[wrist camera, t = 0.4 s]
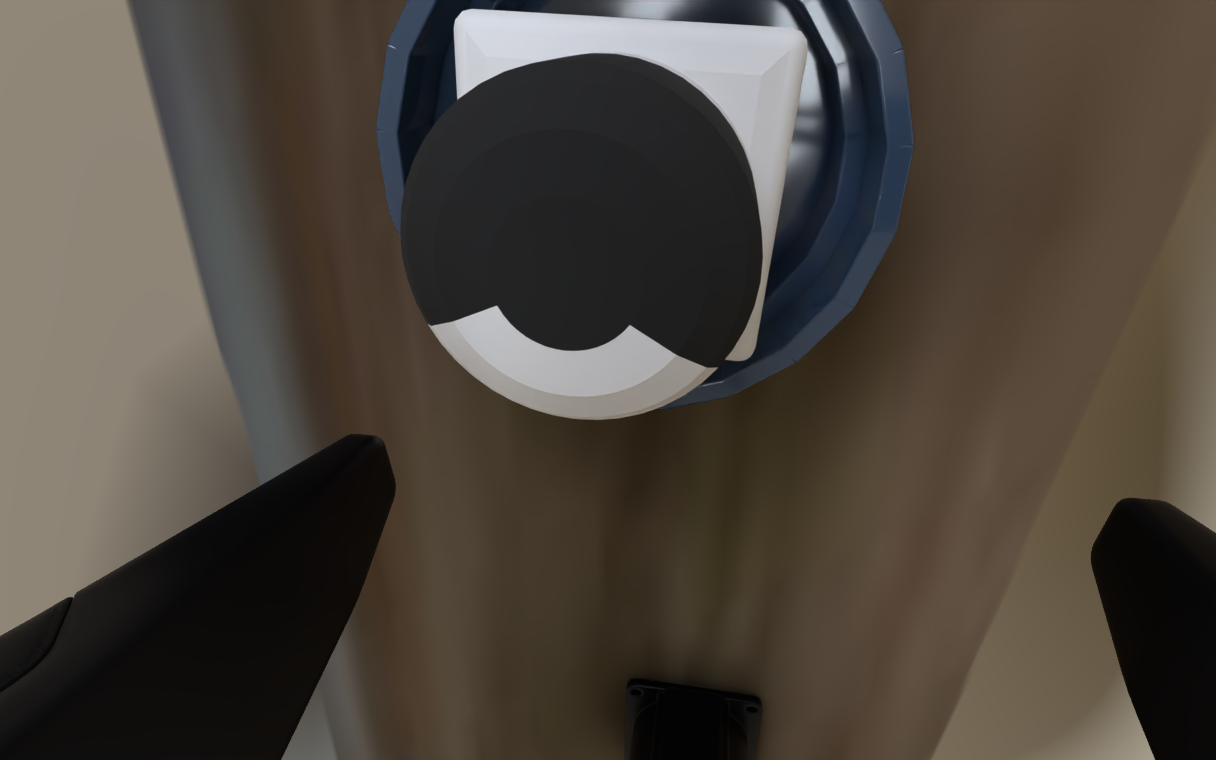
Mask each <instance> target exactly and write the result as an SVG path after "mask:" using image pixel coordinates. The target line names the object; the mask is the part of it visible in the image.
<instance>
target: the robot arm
mask: <svg viewBox="0 0 1216 760" xmlns="http://www.w3.org/2000/svg"><path fill="white" fill-rule="evenodd" d="M395 490H396V484H395V478H394V474H393V471H392V467H391V464H390V461H389V457H388V454H387V450H386V447H385V444H384V442H383V440H382V439H381V438H380V437H378V436H374V435H362V434H350V435H348V436H346V437H344V438H342V439H340V440H338V441H337V442H335V443H333V444H332V445H330V446H328V447H326V448H325V449H323V450H321V451H320V452H318V453H316V454H314V455H313V456H311V457H309V458H307V459H306V460H304V461H302V462H301V463H299V464H297V465H295V466H294V467H292V468H290V469H289V470H287V471H285V472H283V473H282V474H280V475H278V476H276V477H275V478H273V479H271V480H270V481H268V482H266V483H264V484H263V485H261V486H259V487H258V488H256V489H254V490H252V491H251V492H249V493H247V494H245V495H244V496H242V497H240V498H239V499H237V500H235V501H234V502H232V503H230V504H228V505H226V506H225V507H223V508H221V509H220V510H218V511H216V512H214V513H213V514H211V515H209V516H207V517H206V518H204V519H202V520H201V521H199V522H197V523H195V524H194V525H192V526H190V527H189V528H187V529H185V530H183V531H182V532H180V533H178V534H176V535H175V536H173V537H171V538H170V539H168V540H166V541H165V542H163V543H161V544H159V545H158V546H156V547H154V548H152V549H151V550H149V551H147V552H146V553H144V554H142V555H140V556H139V557H137V558H135V559H133V560H132V561H130V562H128V563H126V564H125V565H123V566H121V567H120V568H118V569H116V570H115V571H113V572H111V573H109V574H108V575H106V576H104V577H102V578H101V579H99V580H97V581H95V582H94V583H92V584H90V585H88V586H87V587H85V588H84V589H82V590H80V591H78V592H77V593H76V594H75V596H74V598H73V597H68V598H66V599H64V600H62V601H61V602H59V603H57V604H55V605H54V606H52V607H50V608H49V609H47V610H45V611H44V612H42V613H40V614H38V615H37V616H35V617H33V618H32V619H30V620H28V621H26V622H25V623H23V624H21V625H19V626H17V627H15V628H14V629H12V630H10V631H8V632H7V633H5V634H3V635H1V636H0V760H281V759H282V757H283V755H284V753H285V750H286V748H287V746H288V744H289V742H290V740H291V738H292V736H293V734H294V732H295V730H296V728H297V726H298V723H299V721H300V719H301V717H302V715H303V713H304V711H305V709H306V706H307V705H308V703H309V700H310V699H311V696H312V694H313V692H314V690H315V688H316V686H317V684H318V682H319V680H320V678H321V676H322V674H323V671H324V669H325V667H326V665H327V663H328V661H329V659H330V657H331V655H332V653H333V651H334V649H335V646H336V644H337V642H338V640H339V638H340V636H341V634H342V632H343V630H344V628H345V626H346V624H347V622H348V619H349V617H350V615H351V613H352V611H353V609H354V606H355V604H356V602H357V600H358V597H359V595H360V592H361V590H362V587H363V585H364V582H365V579H366V576H367V574H368V571H369V568H370V565H371V562H372V559H373V557H374V554H375V551H376V548H377V545H378V542H379V540H380V537H381V534H382V531H383V528H384V525H385V523H386V520H387V517H388V514H389V511H390V508H391V506H392V503H393V500H394V496H395ZM1091 564H1092V569H1093V573H1094V576H1095V580H1096V583H1097V587H1098V591H1099V594H1100V597H1101V601H1102V604H1103V608H1104V611H1105V615H1106V618H1107V622H1108V626H1109V629H1110V633H1111V636H1112V640H1113V643H1114V647H1115V650H1116V654H1117V657H1118V661H1119V664H1120V668H1121V671H1122V674H1123V677H1124V680H1125V684H1126V686H1127V690H1128V693H1129V696H1130V698H1131V701H1132V703H1133V706H1134V709H1135V711H1136V714H1137V716H1138V719H1139V721H1140V724H1141V726H1142V728H1143V731H1144V733H1145V736H1146V738H1147V741H1148V743H1149V746H1150V748H1151V751H1152V753H1153V755H1154V758H1155V760H1216V533H1215V532H1213V531H1212V530H1210V529H1209V528H1207V527H1206V526H1204V525H1203V524H1201V523H1199V522H1198V521H1196V520H1195V519H1193V518H1192V517H1190V516H1189V515H1187V514H1185V513H1184V512H1182V511H1181V510H1179V509H1178V508H1176V507H1175V506H1173V505H1171V504H1169V503H1167V502H1165V501H1160V500H1151V499H1139V498H1126V499H1122V500H1121V501H1119V502H1118V503H1117V504H1116V505H1115V507H1114V508H1113V510H1112V512H1111V514H1110V515H1109V517H1108V519H1107V521H1106V523H1105V525H1104V526H1103V528H1102V530H1101V531H1100V534H1099V535H1098V537H1097V539H1096V540H1095V542H1094V544H1093V547H1092V551H1091ZM761 714H762V703H761V700H760V699H759V698H758V697H756V696H753V695H746V694H739V693H732V692H725V691H718V690H711V689H705V688H698V687H691V686H684V685H677V684H670V683H663V682H656V681H649V680H642V679H631V680H630V681H628V684H627V689H626V718H625V757H624V760H753V759H754V753H755V748H756V742H757V736H758V731H759V725H760V719H761Z"/></svg>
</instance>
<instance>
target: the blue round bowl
mask: <svg viewBox="0 0 1216 760" xmlns="http://www.w3.org/2000/svg"><path fill="white" fill-rule="evenodd" d="M469 9H483V10H500V11H517V12H534V13H551V14H568V15H585V16H602V17H619V18H635V19H652V20H669V21H686V22H703V23H720V24H737V25H753V26H770V27H786V28H793V29H796V30H799V31H801V32H802V33H803V35H804V36H805V38H806V39H807V48H808V52H807V58H806V63H805V69H804V75H803V80H802V86H801V92H800V97H799V103H798V109H797V114H796V120H795V126H794V131H793V137H792V143H791V149H790V154H789V160H788V166H787V171H786V177H785V183H784V188H783V194H782V200H781V205H780V211H779V217H778V222H777V228H776V234H775V239H774V245H773V251H772V256H771V262H770V268H769V274H768V279H767V285H766V291H765V296H764V302H763V308H762V313H761V319H760V325H759V330H758V336H757V342H756V347H755V350H754V352H753V354H752V355H751V357H749V358H748V359H746V360H744V361H732V360H724V361H723V363H722V364H721V365H720V366H719V367H718V368H717V369H716V370H715V371H714V372H713V373H712V374H711V375H710V376H709V377H708V378H707V379H706V380H704V381H703V382H702V383H701V384H700V385H698V386H697V387H695V388H694V389H692V390H691V391H690V392H688V393H687V394H685V395H684V396H682V397H680V398H678V399H676V400H674V401H672V402H670V403H668V404H666V405H664V406H662V407H659V408H656V409H654V410H659V409H660V410H663V409H668V408H674V407H679V406H684V405H689V404H695V403H700V402H705V401H710V400H716V399H721V398H726V397H729V395H730V396H732V395H734V394H736V393H738V392H740V391H742V390H744V389H746V388H748V387H750V386H752V385H754V384H756V383H758V382H760V381H762V380H764V379H766V378H768V377H770V376H771V375H773V374H775V373H777V372H779V371H781V370H783V369H785V368H787V367H789V366H791V365H793V364H794V363H795V362H796V363H797V362H798V361H799V360H800V359H801V358H802V357H803V356H804V355H806V354H807V353H808V352H809V351H810V350H811V349H812V348H813V347H814V346H815V345H816V344H817V343H818V342H819V341H820V340H821V339H822V338H823V337H825V336H826V335H827V334H828V333H829V332H830V331H831V330H832V329H833V328H834V327H835V326H836V325H837V324H838V323H839V322H840V321H841V320H842V319H844V318H845V317H846V316H847V315H848V314H849V313H850V312H851V311H852V310H853V308H854V307H855V306H856V304H857V302H858V301H859V299H860V297H861V295H862V294H863V292H864V290H865V288H866V287H867V285H868V283H869V281H870V280H871V278H872V276H873V274H874V272H875V271H876V269H877V267H878V265H879V264H880V262H881V260H882V258H883V257H884V255H885V253H886V251H887V250H888V248H889V246H890V244H891V242H892V241H893V239H894V237H895V234H896V232H897V227H898V222H899V218H900V213H901V208H902V204H903V199H904V194H905V189H906V185H907V180H908V175H909V171H910V166H911V161H912V156H913V152H914V145H913V144H914V132H913V124H912V115H911V106H910V97H909V88H908V79H907V70H906V61H905V53H904V50H903V49H902V48H903V44H902V42H901V40H900V38H899V36H898V34H897V32H896V30H895V28H894V26H893V24H892V22H891V20H890V18H889V16H888V14H887V12H886V10H885V7H884V5H883V3H882V1H881V0H408V1H407V3H406V5H405V8H404V10H403V12H402V14H401V16H400V18H399V20H398V22H397V24H396V26H395V29H394V31H393V33H392V35H391V37H390V39H389V42H388V43H389V44H388V46H387V52H386V59H385V67H384V74H383V81H382V89H381V96H380V103H379V111H378V118H377V125H376V128H377V129H378V130H377V131H376V134H377V140H378V147H379V154H380V160H381V167H382V173H383V180H384V186H385V193H386V200H387V206H388V210H390V211H389V214H390V216H391V218H392V221H393V223H394V225H395V227H396V230H397V232H398V234H399V236H400V224H401V206H402V200H403V195H404V189H405V184H406V181H407V178H408V175H409V172H410V169H411V166H412V163H413V160H414V158H415V156H416V154H417V152H418V150H419V148H420V146H421V144H422V142H423V140H424V139H425V137H426V136H427V134H428V133H429V131H430V130H431V129H432V127H433V126H434V125H435V123H436V122H437V121H438V119H439V118H440V117H441V116H442V115H443V114H444V113H445V112H446V111H447V110H448V109H449V108H450V107H451V106H452V105H453V104H454V103H455V102H456V101H457V83H456V65H455V46H454V24H455V19H456V18H457V17H458V16H459V15H460V13H461V12H462V11H465V10H469ZM400 238H401V236H400Z"/></svg>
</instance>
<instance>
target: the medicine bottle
mask: <svg viewBox="0 0 1216 760" xmlns="http://www.w3.org/2000/svg"><path fill="white" fill-rule="evenodd" d="M454 46H455V65H456V83H457V101H456V102H455V103H454V104H453V105H452V106H451V107H450V108H449V109H448V110H447V111H446V112H445V113H444V114H443V115H442V116H441V117H440V118H439V119H438V121H437V122H436V123H435V125H434V126H433V127H432V129H431V130H430V131H429V133H428V134H427V136H426V137H425V139H424V140H423V142H422V144H421V146H420V148H419V150H418V152H417V154H416V156H415V158H414V160H413V163H412V166H411V169H410V172H409V175H408V178H407V181H406V184H405V189H404V195H403V200H402V206H401V224H400V236H401V246H402V256H403V261H404V265H405V269H406V273H407V278H408V281H409V284H410V287H411V289H412V292H413V295H414V297H415V300H416V303H417V305H418V306H419V308H420V310H421V312H422V314H423V316H424V318H425V320H426V322H427V324H428V325H429V327H430V328H431V330H432V331H433V332H434V334H435V335H436V337H437V338H438V340H439V341H440V343H441V344H442V345H443V346H444V347H445V349H446V350H447V351H448V352H449V353H450V354H451V355H452V357H453V358H454V359H455V360H456V361H457V362H458V363H459V364H460V365H461V366H463V367H464V368H465V369H466V370H467V371H468V372H469V373H470V374H471V375H472V376H474V377H475V378H476V379H478V380H479V381H481V382H482V383H483V384H485V385H486V386H488V387H489V388H490V389H492V390H494V391H495V392H497V393H499V394H501V395H502V396H504V397H506V398H508V399H510V400H511V401H514V402H516V403H519V404H521V405H523V406H526V407H528V408H531V409H533V410H537V411H540V412H544V413H547V414H551V415H554V416H561V417H567V418H573V419H588V420H603V419H616V418H623V417H628V416H633V415H637V414H642V413H645V412H648V411H651V410H654V409H656V408H659V407H662V406H664V405H666V404H668V403H670V402H672V401H674V400H676V399H678V398H680V397H682V396H684V395H685V394H687V393H688V392H690V391H691V390H692V389H694V388H695V387H697V386H698V385H700V384H701V383H702V382H703V381H704V380H706V379H707V378H708V377H709V376H710V375H711V374H712V373H713V372H714V371H715V370H716V369H717V368H718V367H719V366H720V365H721V364H722V363H723V361H724V360H732V361H744V360H746V359H748V358H749V357H751V355H752V354H753V352H754V350H755V347H756V342H757V336H758V330H759V325H760V319H761V313H762V308H763V302H764V296H765V291H766V285H767V279H768V274H769V268H770V262H771V256H772V251H773V245H774V239H775V234H776V228H777V222H778V217H779V211H780V205H781V200H782V194H783V188H784V183H785V177H786V171H787V166H788V160H789V154H790V149H791V143H792V137H793V131H794V126H795V120H796V114H797V109H798V103H799V97H800V92H801V86H802V80H803V75H804V69H805V63H806V58H807V52H808V48H807V39H806V38H805V36H804V35H803V33H802V32H801V31H799V30H796V29H793V28H786V27H770V26H753V25H737V24H720V23H703V22H686V21H669V20H652V19H635V18H619V17H602V16H585V15H568V14H551V13H534V12H517V11H500V10H483V9H469V10H465V11H462V12H461V13H460V15H459V16H458V17H457V18H456V19H455V24H454Z"/></svg>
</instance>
